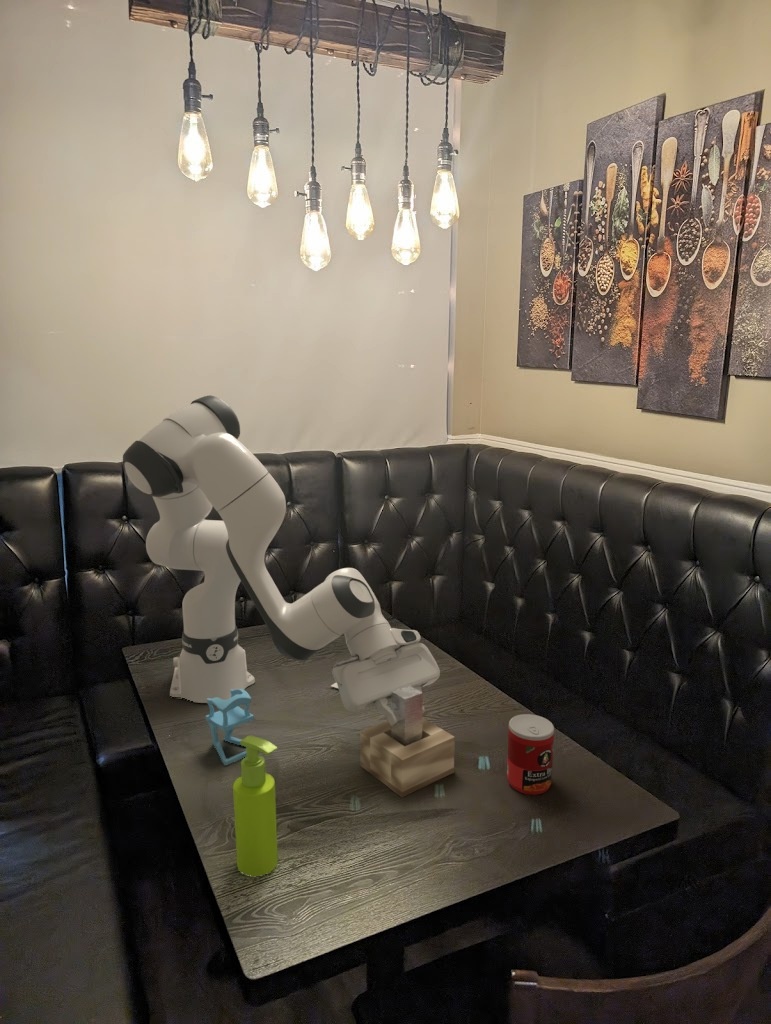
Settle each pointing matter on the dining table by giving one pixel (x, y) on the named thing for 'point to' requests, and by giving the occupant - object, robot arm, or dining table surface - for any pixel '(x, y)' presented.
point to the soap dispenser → (255, 811)
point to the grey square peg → (407, 715)
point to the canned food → (530, 753)
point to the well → (407, 757)
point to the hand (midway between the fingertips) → (408, 718)
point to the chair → (229, 720)
